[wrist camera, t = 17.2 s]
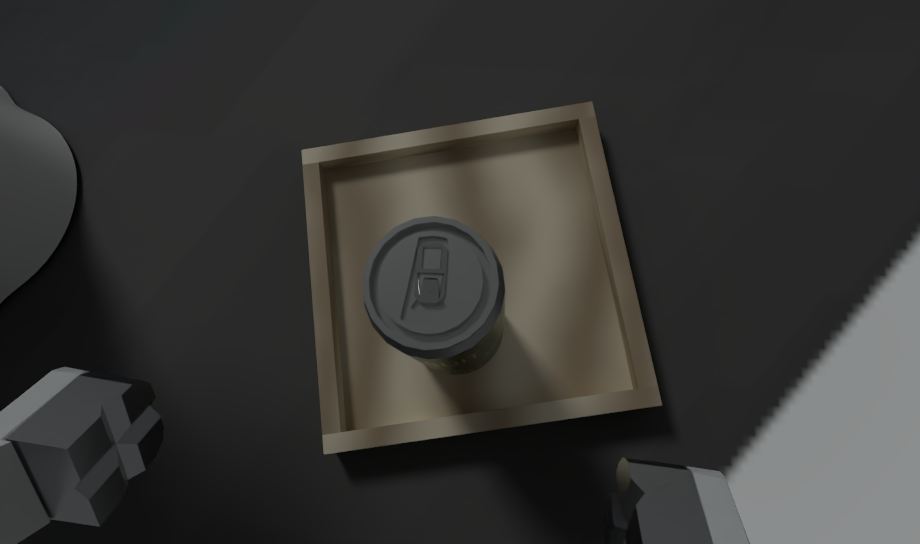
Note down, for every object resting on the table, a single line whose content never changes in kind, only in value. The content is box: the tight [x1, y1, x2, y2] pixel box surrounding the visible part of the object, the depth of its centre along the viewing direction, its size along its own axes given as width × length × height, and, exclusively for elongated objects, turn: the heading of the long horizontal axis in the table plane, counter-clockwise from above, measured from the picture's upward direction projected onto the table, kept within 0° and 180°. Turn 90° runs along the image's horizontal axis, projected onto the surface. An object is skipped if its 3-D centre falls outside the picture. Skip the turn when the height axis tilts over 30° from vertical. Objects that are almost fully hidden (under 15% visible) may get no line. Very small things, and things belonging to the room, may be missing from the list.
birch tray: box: [302, 102, 662, 454], centre depth 31 cm, size 18×18×2 cm
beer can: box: [362, 216, 505, 375], centre depth 25 cm, size 5×5×12 cm
